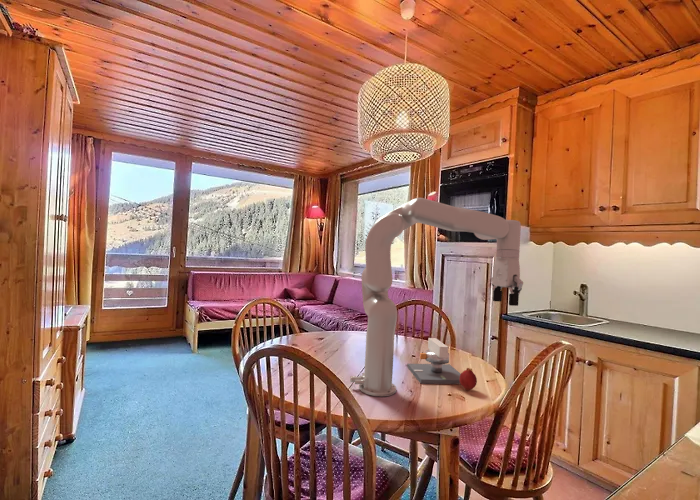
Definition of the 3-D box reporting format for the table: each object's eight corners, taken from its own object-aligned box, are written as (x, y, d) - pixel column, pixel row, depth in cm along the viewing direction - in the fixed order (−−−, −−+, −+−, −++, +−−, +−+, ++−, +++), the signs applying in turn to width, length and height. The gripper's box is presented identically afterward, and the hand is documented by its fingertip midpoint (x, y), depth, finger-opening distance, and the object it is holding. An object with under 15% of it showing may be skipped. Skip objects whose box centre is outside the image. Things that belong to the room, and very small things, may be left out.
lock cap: (425, 365, 132) (426, 346, 132) (415, 355, 145) (416, 337, 145) (454, 365, 133) (455, 347, 133) (441, 355, 146) (442, 338, 146)
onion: (462, 386, 129) (463, 363, 129) (478, 390, 125) (479, 367, 125) (456, 390, 124) (457, 367, 124) (472, 395, 121) (473, 371, 121)
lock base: (420, 383, 129) (421, 368, 129) (407, 367, 147) (408, 353, 147) (468, 384, 131) (469, 369, 131) (449, 367, 149) (450, 354, 149)
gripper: (484, 254, 135) (482, 299, 135) (512, 255, 118) (510, 307, 118) (503, 255, 136) (500, 300, 136) (533, 256, 119) (530, 307, 119)
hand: (505, 303), depth 127 cm, fingers open, 9 cm apart
